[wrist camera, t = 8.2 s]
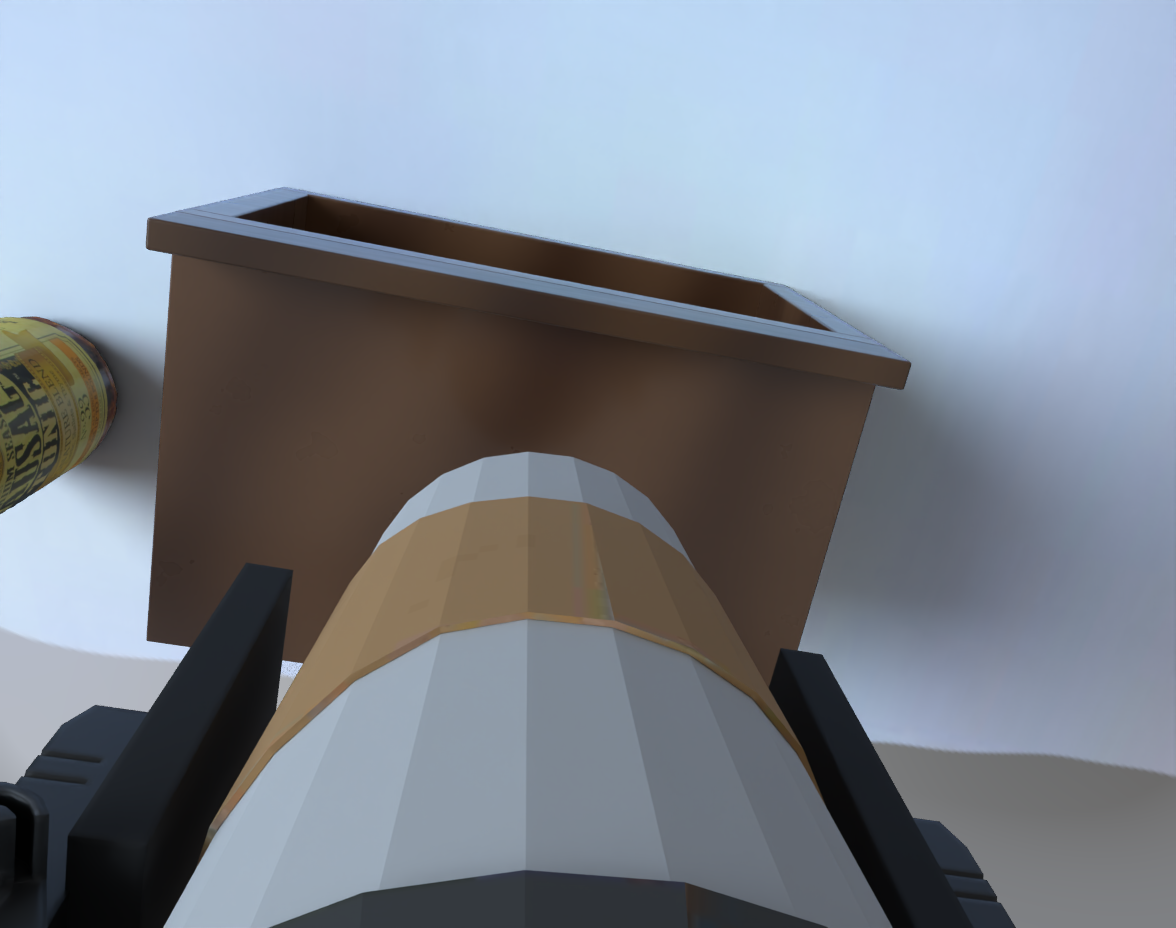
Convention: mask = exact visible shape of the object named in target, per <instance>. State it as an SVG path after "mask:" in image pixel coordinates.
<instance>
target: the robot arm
mask: <svg viewBox="0 0 1176 928" xmlns="http://www.w3.org/2000/svg"><path fill="white" fill-rule="evenodd" d="M292 577H293V570H290V569H284V568H278V567H271V566H265V565H259V564H253V563H246V564H245V565H244V567H243V568H242V570H241V571H240V573H239V574H238V576H237V577H236V579H235V580H234V582H233V583H232V585H231V586H230V588H229V590H228V591H227V593H226V594H225V596H224V597H223V599H222V600H221V602H220V603H219V605H218V606H217V608H216V609H215V611H214V612H213V614H212V615H211V617H210V619H209V620H208V622H207V623H206V625H205V626H204V628H203V629H202V631H201V632H200V634H199V635H198V637H197V638H196V640H195V641H194V643H193V645H192V646H191V648H190V649H189V651H188V652H187V654H186V655H185V657H184V658H183V660H182V661H181V663H180V664H179V666H178V667H177V669H176V671H175V672H174V674H173V675H172V677H171V678H170V680H169V681H168V683H167V684H166V686H165V688H164V689H163V690H162V692H161V693H160V695H159V697H158V698H157V700H156V701H155V703H154V704H153V706H152V707H151V709H150V710H149V712H142V711H135V710H127V709H120V708H113V707H105V706H98V705H95V706H93V707H91V708H90V709H88V710H86V711H84V712H83V713H81V714H79V715H78V716H76V717H74V718H73V719H71V720H69V721H68V722H66V723H64V724H63V725H62V726H61V727H60V728H59V729H58V731H57V732H56V733H55V734H54V736H53V737H52V738H51V740H50V741H49V742H48V743H47V745H46V746H45V747H44V748H43V750H42V753H41V755H38V756H37V757H36V759H35V760H34V761H33V763H32V764H31V765H30V766H29V768H28V769H27V770H26V773H25V776H24V777H21V778H20V779H19V780H18V782H17V783H16V784H10V783H7V782H0V928H163V927H164V925H165V924H166V922H167V920H168V918H169V917H170V915H171V913H172V911H173V909H174V908H175V906H176V904H177V902H178V900H179V899H180V897H181V895H182V893H183V891H184V890H185V888H186V886H187V884H188V882H189V881H190V879H191V877H192V875H193V874H194V872H195V870H196V867H197V863H198V860H199V857H200V854H201V851H202V848H203V845H204V842H205V839H206V836H207V833H208V830H209V827H210V825H211V823H212V821H213V820H214V818H215V816H216V814H217V813H218V811H219V809H220V807H221V806H222V804H223V802H224V801H225V799H226V797H227V795H228V794H229V792H230V790H231V788H232V787H233V785H234V783H235V781H236V780H237V778H238V776H239V774H240V773H241V771H242V769H243V767H244V766H245V764H246V762H247V761H248V759H249V757H250V755H251V754H252V752H253V750H254V748H255V747H256V745H257V743H258V741H259V740H260V738H261V736H262V734H263V733H264V731H265V729H266V727H267V726H268V724H269V722H270V721H271V719H272V717H273V715H274V714H275V712H276V704H277V697H278V689H279V681H280V673H281V665H282V657H283V649H284V641H285V633H286V625H287V617H288V609H289V601H290V593H291V585H292ZM769 690H770V692H771V694H772V695H773V697H774V699H775V701H776V702H777V704H778V706H779V708H780V709H781V711H782V713H783V715H784V717H785V718H786V720H787V722H788V724H789V725H790V727H791V729H792V731H793V732H794V734H795V736H796V738H797V739H798V741H799V743H800V745H801V746H802V748H803V750H804V752H805V755H806V757H807V760H808V763H809V765H810V768H811V770H812V773H813V775H814V778H815V780H816V783H817V785H818V788H819V790H820V793H821V795H822V798H823V800H824V803H825V805H826V808H827V810H828V811H829V813H830V815H831V817H832V819H833V820H834V822H835V824H836V826H837V828H838V830H839V831H840V833H841V835H842V837H843V839H844V840H845V842H846V844H847V846H848V848H849V849H850V851H851V853H852V855H853V857H854V859H855V860H856V862H857V864H858V866H859V868H860V869H861V871H862V873H863V875H864V877H865V879H866V880H867V882H868V884H869V886H870V888H871V889H872V891H873V893H874V895H875V897H876V899H877V900H878V902H879V904H880V906H881V908H882V909H883V911H884V913H885V915H886V917H887V918H888V920H889V922H890V924H891V926H892V928H1016V927H1015V926H1014V924H1013V923H1012V921H1011V919H1010V917H1009V916H1008V914H1007V912H1006V911H1005V909H1004V908H1003V906H1002V904H1001V903H998V902H997V896H996V894H995V893H994V891H993V889H992V888H991V886H990V885H989V883H988V881H987V880H984V879H983V873H982V872H981V870H980V868H979V866H978V865H977V863H976V862H975V860H974V858H973V857H972V855H971V853H970V852H969V850H968V848H967V847H966V846H965V845H964V844H963V843H962V842H961V841H960V840H958V839H957V838H956V837H955V836H954V835H953V834H952V833H951V832H950V831H949V830H948V829H947V828H946V827H944V825H942V824H941V823H940V822H939V821H931V820H924V819H917V818H913V817H912V816H911V814H910V812H909V810H908V809H907V807H906V805H905V803H904V801H903V799H902V798H901V796H900V794H899V792H898V791H897V789H896V787H895V785H894V783H893V781H892V780H891V778H890V776H889V774H888V772H887V771H886V769H885V767H884V765H883V763H882V762H881V760H880V758H879V756H878V754H877V753H876V751H875V749H874V747H873V746H872V744H871V742H870V740H869V738H868V736H867V734H866V733H865V731H864V729H863V727H862V725H861V724H860V722H859V720H858V718H857V716H856V715H855V713H854V711H853V709H852V707H851V706H850V704H849V702H848V700H847V698H846V697H845V695H844V693H843V691H842V689H841V688H840V686H839V684H838V682H837V680H836V679H835V677H834V675H833V673H832V671H831V670H830V668H829V666H828V664H827V662H826V661H825V659H824V657H823V655H821V654H815V653H809V652H803V651H796V650H790V649H784V648H780V652H779V655H778V658H777V662H776V665H775V668H774V672H773V675H772V678H771V682H770V685H769Z"/></svg>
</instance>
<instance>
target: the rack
mask: <svg viewBox="0 0 1176 928" xmlns="http://www.w3.org/2000/svg"><path fill="white" fill-rule="evenodd" d="M146 248H147V249H148V250H152V251H158V252H163V253H169V254H172V262H171V278H170V293H169V308H168V323H167V338H166V353H165V368H164V383H163V398H162V414H161V429H160V444H159V459H158V474H157V489H156V504H155V519H154V534H153V549H152V565H151V580H150V595H149V610H148V625H147V641H151V642H158V643H165V644H172V645H179V646H186V647H191V646H192V645H193V643H194V641H195V640H196V638H197V637H198V635H199V634H200V632H201V631H202V629H203V628H204V626H205V625H206V623H207V622H208V620H209V619H210V617H211V615H212V614H213V612H214V611H215V609H216V608H217V606H218V605H219V603H220V602H221V600H222V599H223V597H224V596H225V594H226V593H227V591H228V590H229V588H230V586H231V585H232V583H233V582H234V580H235V579H236V577H237V576H238V574H239V573H240V571H241V570H242V568H243V567H244V565H245V564H246V563H253V564H259V565H265V566H271V567H278V568H284V569H290V570H293V577H292V585H291V593H290V601H289V609H288V617H287V625H286V633H285V641H284V649H283V657H282V660H284V661H291V662H298V663H304V661H305V660H306V658H307V656H308V654H309V653H310V651H311V649H312V647H313V646H314V644H315V642H316V641H317V639H318V637H319V635H320V634H321V632H322V630H323V628H324V627H325V625H326V623H327V621H328V620H329V618H330V616H331V614H332V613H333V611H334V609H335V607H336V606H337V604H338V602H339V601H340V599H341V597H342V595H343V594H344V592H345V590H346V588H347V587H348V585H349V583H350V582H351V580H352V579H353V578H354V577H355V575H356V574H357V573H358V571H359V570H360V569H361V568H362V566H363V565H364V564H365V563H366V561H367V560H368V559H369V557H370V556H371V555H372V553H373V551H374V549H375V548H376V546H377V544H378V542H379V540H380V539H381V537H382V535H383V533H384V532H385V531H386V529H387V528H388V527H389V525H390V524H391V523H392V521H393V520H394V519H395V517H396V516H397V515H398V513H399V512H400V511H401V509H402V508H403V507H404V505H405V504H406V503H407V502H408V500H410V499H411V498H412V497H413V496H415V495H416V494H417V493H419V492H420V491H421V490H423V489H424V488H425V487H427V486H428V485H429V484H431V483H432V482H433V481H435V480H436V479H437V478H438V477H440V476H441V475H442V474H445V473H447V472H450V471H452V470H455V469H457V468H459V467H462V466H464V465H467V464H469V463H472V462H474V461H477V460H479V459H482V458H485V457H493V456H500V455H508V454H515V453H523V452H535V453H543V454H552V455H560V456H569V457H574V458H577V459H580V460H582V461H585V462H587V463H590V464H592V465H595V466H598V467H600V468H603V469H605V470H608V471H611V472H613V473H615V474H616V475H618V476H619V477H620V478H622V479H623V480H624V481H626V482H627V483H629V484H630V485H631V486H633V487H634V488H635V489H637V490H638V491H640V492H641V493H642V494H644V495H645V496H646V497H648V498H649V499H650V501H651V502H652V503H653V505H654V506H655V507H656V508H657V510H658V511H659V512H660V513H661V515H662V516H663V517H664V518H665V520H666V521H667V522H668V524H669V525H670V526H671V527H672V529H673V530H674V532H675V534H676V535H677V537H678V539H679V541H680V543H681V544H682V546H683V548H684V550H685V552H686V554H687V555H688V557H689V559H690V561H691V563H692V564H693V566H694V568H695V570H696V571H697V573H698V574H699V575H700V576H701V578H702V579H703V580H704V581H705V583H706V584H707V585H708V586H709V588H710V589H711V590H712V591H713V593H714V594H715V595H716V597H717V599H718V601H719V602H720V604H721V606H722V608H723V609H724V611H725V613H726V615H727V616H728V618H729V620H730V622H731V623H732V625H733V627H734V629H735V630H736V632H737V634H738V636H739V637H740V639H741V641H742V643H743V645H744V646H745V648H746V650H747V652H748V653H749V655H750V657H751V659H752V660H753V662H754V664H755V666H756V667H757V669H758V671H759V673H760V674H761V676H762V678H763V680H764V681H765V683H766V685H767V687H768V688H769V685H770V682H771V678H772V675H773V672H774V668H775V665H776V662H777V658H778V655H779V652H780V648H784V649H790V650H796V651H797V650H798V647H799V643H800V640H801V636H802V633H803V630H804V626H805V623H806V620H807V616H808V613H809V609H810V606H811V603H812V599H813V596H814V592H815V589H816V586H817V582H818V579H819V576H820V572H821V569H822V565H823V562H824V559H825V555H826V552H827V548H828V545H829V542H830V538H831V535H832V532H833V528H834V525H835V521H836V518H837V515H838V511H839V508H840V504H841V501H842V498H843V494H844V491H845V488H846V484H847V481H848V477H849V474H850V471H851V467H852V464H853V460H854V457H855V454H856V450H857V447H858V444H859V440H860V437H861V433H862V430H863V427H864V423H865V420H866V416H867V413H868V410H869V406H870V403H871V400H872V396H873V393H874V389H875V386H876V385H878V386H883V387H888V388H894V389H899V390H902V389H904V387H905V384H906V380H907V377H908V374H909V370H910V367H911V362H909V361H908V360H906V359H905V358H903V357H901V356H900V355H898V354H896V353H895V352H893V351H892V350H890V349H888V348H887V347H886V346H884V345H882V344H881V343H879V342H877V341H876V340H873V339H872V338H870V337H869V336H867V335H865V334H864V333H862V332H860V331H859V330H857V329H856V328H854V327H852V326H851V325H849V324H847V323H846V322H844V321H843V320H841V319H839V318H838V317H836V316H834V315H833V314H831V313H830V312H828V311H826V310H825V309H823V308H821V307H820V306H818V305H816V304H815V303H813V302H812V301H810V300H808V299H807V298H805V297H803V296H802V295H800V294H799V293H797V292H795V291H794V290H792V289H790V288H789V287H787V286H785V285H782V284H777V283H772V282H766V281H761V280H756V279H751V278H746V277H741V276H736V275H731V274H726V273H721V272H715V271H710V270H705V269H700V268H695V267H690V266H685V265H680V264H675V263H670V262H664V261H659V260H654V259H649V258H644V257H639V256H634V255H629V254H624V253H619V252H613V251H608V250H603V249H598V248H593V247H588V246H583V245H578V244H573V243H568V242H562V241H557V240H552V239H547V238H542V237H537V236H532V235H527V234H522V233H517V232H511V231H506V230H501V229H496V228H491V227H486V226H481V225H476V224H471V223H466V222H460V221H455V220H450V219H445V218H440V217H435V216H430V215H425V214H420V213H415V212H409V211H404V210H399V209H394V208H389V207H384V206H379V205H374V204H369V203H363V202H358V201H353V200H348V199H343V198H338V197H333V196H328V195H323V194H318V193H312V192H307V191H302V190H297V189H292V188H287V187H282V188H277V189H272V190H268V191H264V192H259V193H255V194H250V195H246V196H242V197H237V198H233V199H229V200H224V201H220V202H215V203H211V204H207V205H202V206H198V207H194V208H189V209H184V210H179V211H175V212H172V213H168V214H163V215H159V216H155V217H150V218H148V220H147V235H146Z"/></svg>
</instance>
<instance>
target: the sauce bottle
mask: <svg viewBox="0 0 1176 928" xmlns="http://www.w3.org/2000/svg"><path fill="white" fill-rule="evenodd" d="M117 396H118V394H117V391H116V388H115V384H114V380H113V378H112V375H111V373H110V371H109V369H108V367H107V365H106V362H105V361H104V360H103V359H102V357H101V356H100V353H99V352H98V351H97V349H96V348H95V346H94V345H93V344H92V343H91V342H89V341H88V340H87V339H86V338H84V337H83V336H82V335H80V334H78V333H76V332H74V331H72V330H70V329H69V328H67V327H64V326H61V325H59V324H57V323H55V322H52V321H50V320H48V319H44V318H40V317H21V318H15V317H4V318H0V514H1V513H3V512H5V511H6V510H7V509H9V508H12V507H14V506H15V505H16V504H17V503H19V502H21V501H23V500H24V499H26V498H27V497H28V496H30V495H32V494H33V493H35V492H36V491H38V490H40V489H41V488H43V487H44V486H46V485H47V484H49V483H50V482H52V481H53V480H55V479H56V478H58V477H59V476H61V475H62V474H64V473H66V472H67V471H69V470H70V469H72V468H74V467H75V466H77V465H78V464H80V463H82V462H83V461H84V460H85V459H86V458H87V457H88V456H89V455H90V453H91V452H92V451H93V450H94V449H96V448H97V447H98V446H99V444H100V443H101V442H102V440H103V439H104V437H105V435H106V434H107V432H108V429H109V428H110V426H111V423H112V422H113V418H114V417H115V413H116V409H117V408H116V401H117Z"/></svg>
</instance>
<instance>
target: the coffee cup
mask: <svg viewBox="0 0 1176 928" xmlns="http://www.w3.org/2000/svg"><path fill="white" fill-rule="evenodd" d="M163 928H892V926H891V924H890V922H889V920H888V918H887V917H886V915H885V913H884V911H883V909H882V908H881V906H880V904H879V902H878V900H877V899H876V897H875V895H874V893H873V891H872V889H871V888H870V886H869V884H868V882H867V880H866V879H865V877H864V875H863V873H862V871H861V869H860V868H859V866H858V864H857V862H856V860H855V859H854V857H853V855H852V853H851V851H850V849H849V848H848V846H847V844H846V842H845V840H844V839H843V837H842V835H841V833H840V831H839V830H838V828H837V826H836V824H835V822H834V820H833V819H832V817H831V815H830V813H829V811H828V810H827V808H826V805H825V803H824V800H823V798H822V795H821V793H820V790H819V788H818V785H817V783H816V780H815V778H814V775H813V773H812V770H811V768H810V765H809V763H808V760H807V757H806V755H805V752H804V750H803V748H802V746H801V745H800V743H799V741H798V739H797V738H796V736H795V734H794V732H793V731H792V729H791V727H790V725H789V724H788V722H787V720H786V718H785V717H784V715H783V713H782V711H781V709H780V708H779V706H778V704H777V702H776V701H775V699H774V697H773V695H772V694H771V692H770V690H769V688H768V687H767V685H766V683H765V681H764V680H763V678H762V676H761V674H760V673H759V671H758V669H757V667H756V666H755V664H754V662H753V660H752V659H751V657H750V655H749V653H748V652H747V650H746V648H745V646H744V645H743V643H742V641H741V639H740V637H739V636H738V634H737V632H736V630H735V629H734V627H733V625H732V623H731V622H730V620H729V618H728V616H727V615H726V613H725V611H724V609H723V608H722V606H721V604H720V602H719V601H718V599H717V597H716V595H715V594H714V593H713V591H712V590H711V589H710V588H709V586H708V585H707V584H706V583H705V581H704V580H703V579H702V578H701V576H700V575H699V574H698V573H697V571H696V570H695V568H694V566H693V564H692V563H691V561H690V559H689V557H688V555H687V554H686V552H685V550H684V548H683V546H682V544H681V543H680V541H679V539H678V537H677V535H676V534H675V532H674V530H673V529H672V527H671V526H670V525H669V524H668V522H667V521H666V520H665V518H664V517H663V516H662V515H661V513H660V512H659V511H658V510H657V508H656V507H655V506H654V505H653V503H652V502H651V501H650V499H649V498H648V497H646V496H645V495H644V494H642V493H641V492H640V491H638V490H637V489H635V488H634V487H633V486H631V485H630V484H629V483H627V482H626V481H624V480H623V479H622V478H620V477H619V476H618V475H616V474H615V473H613V472H611V471H608V470H605V469H603V468H600V467H598V466H595V465H592V464H590V463H587V462H585V461H582V460H580V459H577V458H574V457H569V456H560V455H552V454H543V453H535V452H523V453H515V454H508V455H500V456H493V457H485V458H482V459H479V460H477V461H474V462H472V463H469V464H467V465H464V466H462V467H459V468H457V469H455V470H452V471H450V472H447V473H445V474H442V475H441V476H440V477H438V478H437V479H436V480H435V481H433V482H432V483H431V484H429V485H428V486H427V487H425V488H424V489H423V490H421V491H420V492H419V493H417V494H416V495H415V496H413V497H412V498H411V499H410V500H408V502H407V503H406V504H405V505H404V507H403V508H402V509H401V511H400V512H399V513H398V515H397V516H396V517H395V519H394V520H393V521H392V523H391V524H390V525H389V527H388V528H387V529H386V531H385V532H384V533H383V535H382V537H381V539H380V540H379V542H378V544H377V546H376V548H375V549H374V551H373V553H372V555H371V556H370V557H369V559H368V560H367V561H366V563H365V564H364V565H363V566H362V568H361V569H360V570H359V571H358V573H357V574H356V575H355V577H354V578H353V579H352V580H351V582H350V583H349V585H348V587H347V588H346V590H345V592H344V594H343V595H342V597H341V599H340V601H339V602H338V604H337V606H336V607H335V609H334V611H333V613H332V614H331V616H330V618H329V620H328V621H327V623H326V625H325V627H324V628H323V630H322V632H321V634H320V635H319V637H318V639H317V641H316V642H315V644H314V646H313V647H312V649H311V651H310V653H309V654H308V656H307V658H306V660H305V661H304V663H303V665H302V667H301V668H300V670H299V672H298V674H297V675H296V677H295V679H294V681H293V682H292V684H291V686H290V687H289V689H288V691H287V693H286V695H285V696H284V698H283V700H282V701H281V703H280V705H279V707H278V708H277V710H276V712H275V714H274V715H273V717H272V719H271V721H270V722H269V724H268V726H267V727H266V729H265V731H264V733H263V734H262V736H261V738H260V740H259V741H258V743H257V745H256V747H255V748H254V750H253V752H252V754H251V755H250V757H249V759H248V761H247V762H246V764H245V766H244V767H243V769H242V771H241V773H240V774H239V776H238V778H237V780H236V781H235V783H234V785H233V787H232V788H231V790H230V792H229V794H228V795H227V797H226V799H225V801H224V802H223V804H222V806H221V807H220V809H219V811H218V813H217V814H216V816H215V818H214V820H213V821H212V823H211V825H210V827H209V830H208V833H207V836H206V839H205V842H204V845H203V848H202V851H201V854H200V857H199V860H198V863H197V867H196V870H195V872H194V874H193V875H192V877H191V879H190V881H189V882H188V884H187V886H186V888H185V890H184V891H183V893H182V895H181V897H180V899H179V900H178V902H177V904H176V906H175V908H174V909H173V911H172V913H171V915H170V917H169V918H168V920H167V922H166V924H165V925H164V927H163Z"/></svg>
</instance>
